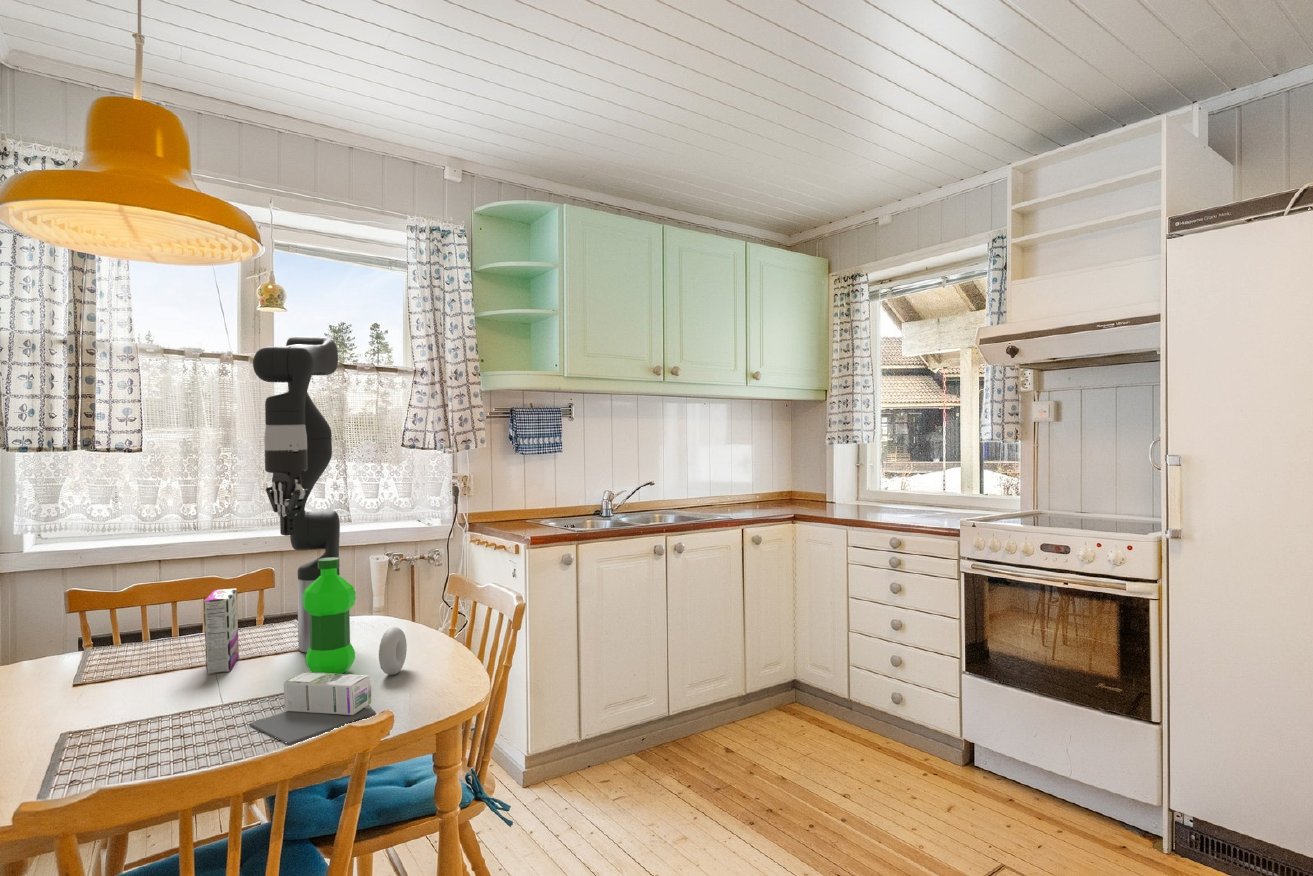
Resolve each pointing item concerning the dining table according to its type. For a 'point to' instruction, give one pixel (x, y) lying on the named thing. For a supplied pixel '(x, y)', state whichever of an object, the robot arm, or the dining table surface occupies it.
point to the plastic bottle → (329, 620)
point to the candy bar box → (221, 631)
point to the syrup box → (327, 693)
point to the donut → (392, 651)
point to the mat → (304, 724)
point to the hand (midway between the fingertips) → (287, 534)
